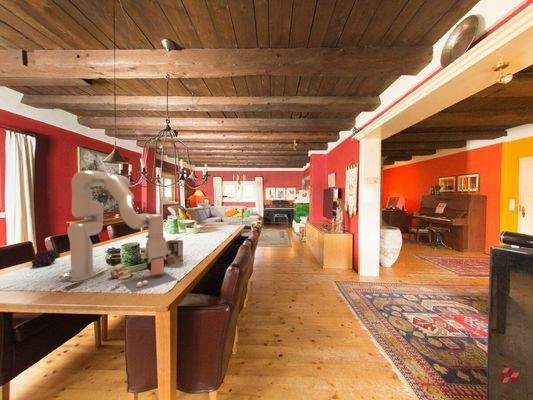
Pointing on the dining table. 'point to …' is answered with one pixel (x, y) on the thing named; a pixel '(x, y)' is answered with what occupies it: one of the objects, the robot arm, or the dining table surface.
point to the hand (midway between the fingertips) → (156, 267)
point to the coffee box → (175, 253)
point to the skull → (120, 272)
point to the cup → (157, 265)
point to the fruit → (45, 258)
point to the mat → (152, 281)
